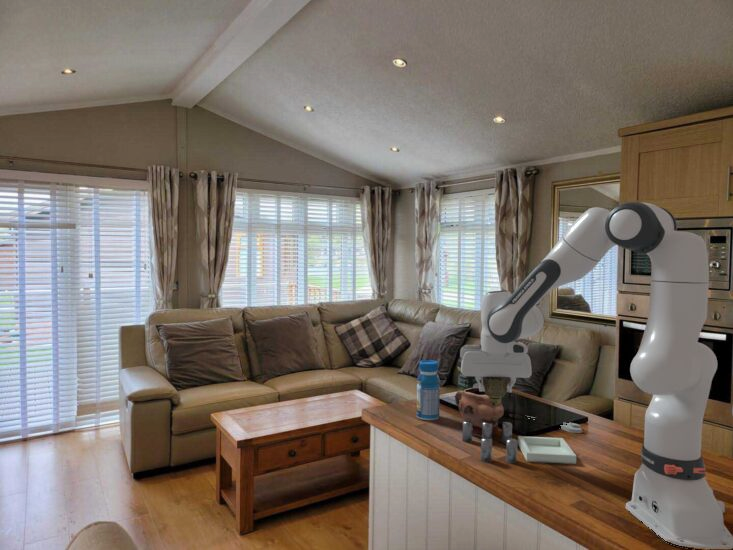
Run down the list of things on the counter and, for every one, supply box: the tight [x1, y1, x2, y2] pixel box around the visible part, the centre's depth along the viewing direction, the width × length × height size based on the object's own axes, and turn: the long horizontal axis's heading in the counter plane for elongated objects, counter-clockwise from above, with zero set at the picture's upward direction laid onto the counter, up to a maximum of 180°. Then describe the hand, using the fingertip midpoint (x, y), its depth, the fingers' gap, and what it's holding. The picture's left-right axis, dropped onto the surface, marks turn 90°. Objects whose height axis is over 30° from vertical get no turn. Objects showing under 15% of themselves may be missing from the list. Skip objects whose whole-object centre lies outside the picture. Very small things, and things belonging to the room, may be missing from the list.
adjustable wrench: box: [526, 415, 583, 434], centre depth 174 cm, size 25×6×2 cm, turn 49°
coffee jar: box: [457, 357, 483, 402], centre depth 192 cm, size 10×8×19 cm
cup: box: [482, 377, 509, 403], centre depth 148 cm, size 8×7×8 cm
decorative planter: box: [454, 388, 505, 437], centre depth 165 cm, size 20×12×14 cm, turn 41°
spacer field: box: [462, 420, 518, 464], centre depth 149 cm, size 17×15×6 cm
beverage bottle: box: [415, 359, 441, 421], centre depth 179 cm, size 8×8×20 cm
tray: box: [517, 435, 577, 465], centre depth 148 cm, size 13×13×2 cm
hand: (495, 391), depth 148 cm, fingers closed on cup, 6 cm apart
